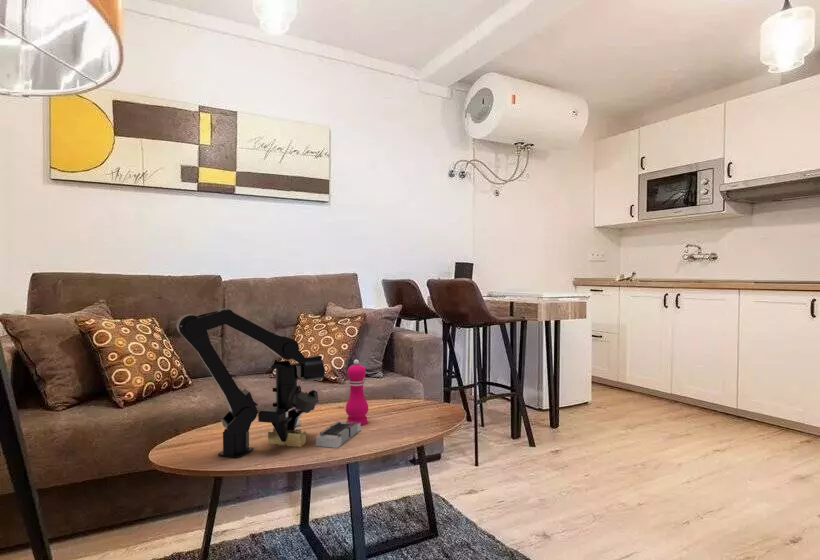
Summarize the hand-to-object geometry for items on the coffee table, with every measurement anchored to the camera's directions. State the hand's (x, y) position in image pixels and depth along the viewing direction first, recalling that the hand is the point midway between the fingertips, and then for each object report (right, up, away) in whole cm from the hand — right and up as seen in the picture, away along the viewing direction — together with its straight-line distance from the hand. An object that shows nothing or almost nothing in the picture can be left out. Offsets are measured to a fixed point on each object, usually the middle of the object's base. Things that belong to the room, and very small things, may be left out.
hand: (287, 439), depth 129 cm
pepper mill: (+17, -1, +19) cm, 26 cm away
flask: (-4, -2, +18) cm, 18 cm away
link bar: (0, -1, 0) cm, 1 cm away
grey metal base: (+14, -1, +4) cm, 14 cm away
